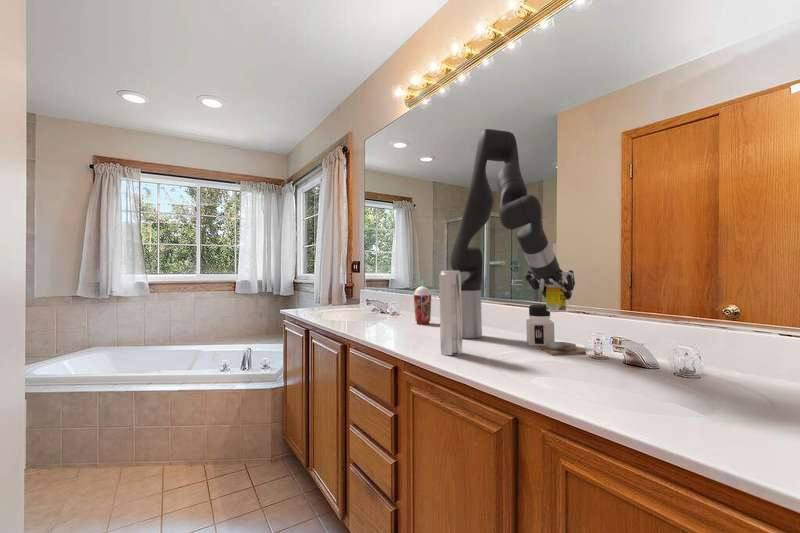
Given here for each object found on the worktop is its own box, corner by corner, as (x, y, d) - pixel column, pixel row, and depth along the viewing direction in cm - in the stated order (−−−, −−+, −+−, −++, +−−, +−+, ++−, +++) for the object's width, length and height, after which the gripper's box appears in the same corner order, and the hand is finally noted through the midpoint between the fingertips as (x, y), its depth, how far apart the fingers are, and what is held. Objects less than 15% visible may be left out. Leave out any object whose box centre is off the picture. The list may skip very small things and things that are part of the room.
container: (554, 346, 124) (553, 305, 124) (529, 346, 126) (528, 305, 126) (550, 342, 132) (549, 303, 132) (526, 341, 133) (525, 303, 133)
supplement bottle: (562, 313, 113) (561, 277, 113) (543, 311, 117) (542, 277, 117) (569, 311, 117) (568, 277, 118) (550, 310, 121) (549, 277, 121)
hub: (551, 355, 112) (551, 348, 112) (538, 348, 122) (538, 341, 122) (586, 354, 113) (585, 347, 113) (569, 347, 123) (569, 340, 123)
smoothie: (432, 324, 176) (431, 280, 176) (414, 325, 176) (413, 280, 176) (431, 322, 184) (430, 279, 184) (413, 322, 185) (412, 280, 185)
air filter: (464, 351, 119) (462, 270, 120) (460, 356, 113) (458, 270, 113) (443, 350, 122) (441, 270, 122) (438, 355, 115) (436, 270, 115)
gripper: (569, 246, 107) (586, 288, 116) (520, 249, 117) (539, 287, 126) (562, 266, 103) (580, 307, 112) (512, 267, 113) (532, 305, 122)
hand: (558, 297), depth 119 cm, fingers closed on supplement bottle, 5 cm apart
